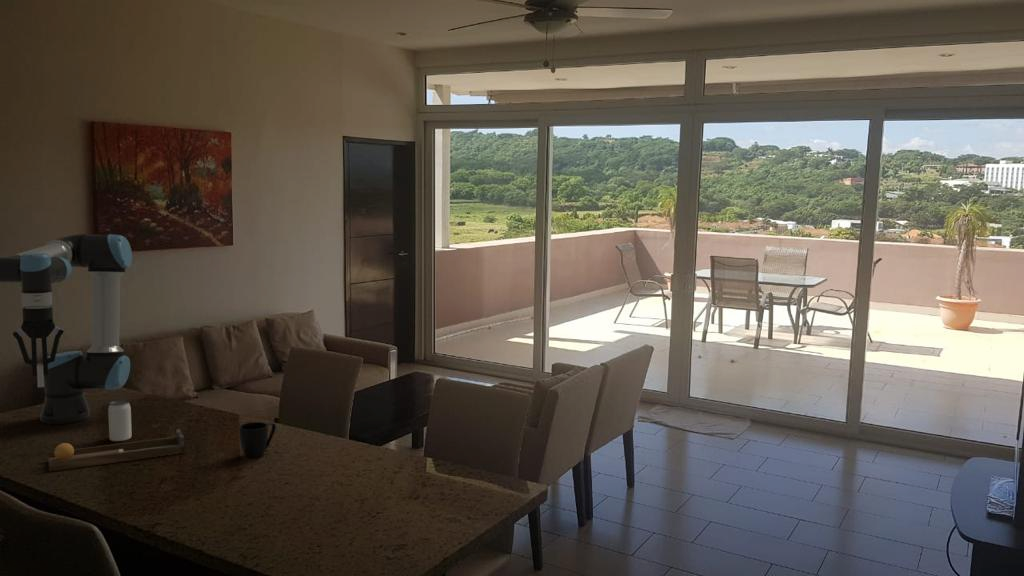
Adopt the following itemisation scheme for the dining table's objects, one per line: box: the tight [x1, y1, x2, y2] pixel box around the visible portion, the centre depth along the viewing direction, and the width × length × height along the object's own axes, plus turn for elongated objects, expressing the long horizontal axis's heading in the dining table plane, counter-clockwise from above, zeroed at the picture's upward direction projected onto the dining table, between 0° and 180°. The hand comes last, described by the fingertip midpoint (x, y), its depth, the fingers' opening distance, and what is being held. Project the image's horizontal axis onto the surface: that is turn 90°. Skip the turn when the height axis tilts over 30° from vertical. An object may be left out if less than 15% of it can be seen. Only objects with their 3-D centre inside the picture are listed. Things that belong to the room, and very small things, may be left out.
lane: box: [48, 428, 185, 472], centre depth 237 cm, size 10×36×5 cm, turn 120°
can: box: [107, 400, 133, 443], centre depth 253 cm, size 6×6×12 cm
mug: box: [239, 421, 277, 460], centre depth 242 cm, size 8×12×10 cm
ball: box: [53, 442, 74, 460], centre depth 229 cm, size 5×5×5 cm
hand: (40, 386), depth 230 cm, fingers closed
